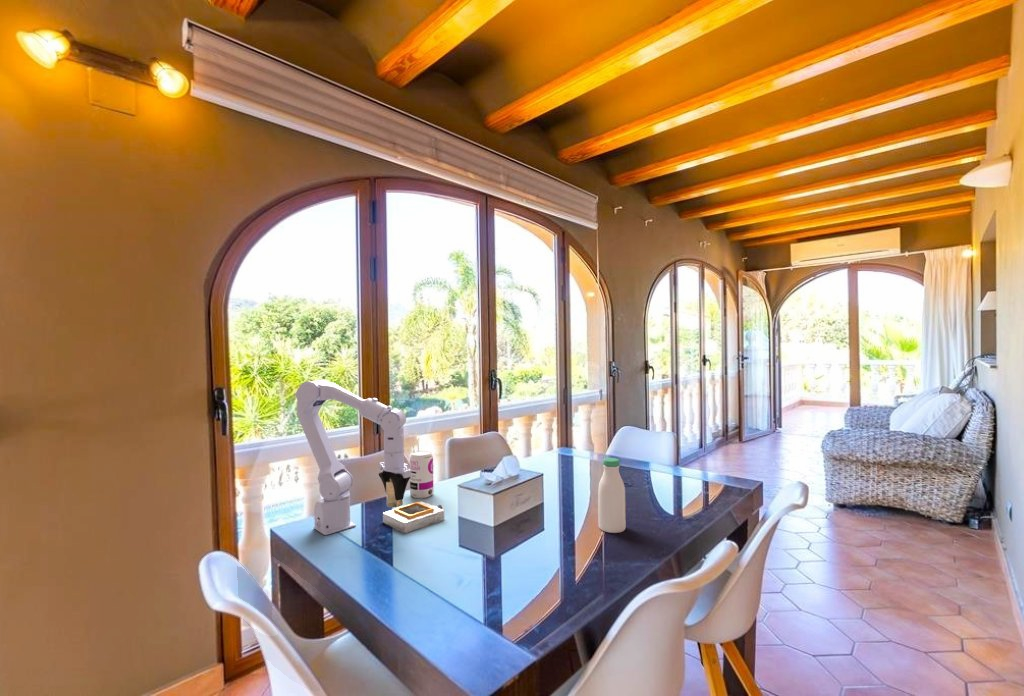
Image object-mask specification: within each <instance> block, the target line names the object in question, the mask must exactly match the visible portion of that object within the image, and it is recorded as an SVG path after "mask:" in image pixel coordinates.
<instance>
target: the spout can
mask: <svg viewBox="0 0 1024 696" xmlns="http://www.w3.org/2000/svg"><path fill="white" fill-rule="evenodd" d="M385 495H386V496H385V497H386V507H387V508H392V509H395V508H399V507H402V506H404V505H403V504H404V503H403V501H404V498H403V499H402V500H398V501H397V500H396V499H395V493H394V486H393V483H392V481H391V479H390V480H387V481H386V492H385Z"/></svg>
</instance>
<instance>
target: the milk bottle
mask: <svg viewBox="0 0 1024 696" xmlns="http://www.w3.org/2000/svg"><path fill="white" fill-rule="evenodd" d="M602 463H603V464H602V465H603V472H602V475H601V478H600V480H599V482H598V488H597V489H598V491H597V495H598V496H597V498H598V499H597V500H598V501H597V505H598V507H597V513H598V514H597V515H598V516H597V518H598V520H597V521H598V528H599V530H601V531H603V532H606V533H609V534H617V533H622V532H624V531H625V530H626V529H627V528H626V527H627V525H626V524H627V523H626V519H627V517H626V514H627V513H626V511H627V510H626V509H627V508H626V507H627V506H626V505H627V504H626V487H625V483H624V481H623V479H622V476H621V474H620V470H619V469H620V464H621V463H620V459H619V458H616V457H606V458H603V461H602Z"/></svg>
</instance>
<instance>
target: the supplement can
mask: <svg viewBox="0 0 1024 696" xmlns="http://www.w3.org/2000/svg"><path fill="white" fill-rule="evenodd" d="M409 470H411V478H410V479H409V494H410V496H411V497H412V498H415V499H426V498H430V497H431V496H432V495H433V494H434V491H435V490H434V456H433V454H432V452H431V451H428V450H419V451H413V452H411V454H410V456H409Z"/></svg>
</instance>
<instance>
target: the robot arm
mask: <svg viewBox="0 0 1024 696" xmlns="http://www.w3.org/2000/svg"><path fill="white" fill-rule="evenodd" d="M295 397H296V399H297V403H296V416H297V419H298V421H299V423H300V426H301V428H302V430H303V432H304V433H303V434H304V435H305V438H306V440H307V442H308V445H309V447H310V449H311V452H312V454H313V457H314V459H315V462H316V463H317V465H318V468H319V469H318V470H319V473H318V475H317V481H318V484H319V488H318V490H319V494H320V496H321V497H322V499H320V500H319V501H316V502H315V504H314V509H313V510H314V513H313V515H314V526H313V529H315V530H316V531H318V532H319V533H320V534H322V535H324V536H327V535H330V534H334V533H337V532H341V531H344V530H348V529H351V528H354V527H356V526H357V525H356V523H354V522H353V521H351V503H350V502H351V493H350V489H351V488H352V486H353V484H354V477H353V475H352V474H351V473H350V472H349V471H348V469H347V467H346V466H345V464H343V463H342V462H340V461H339V460H338V458H337V456H336V452H335V450H334V448H333V445H332V443H331V440H330V439H329V437H328V436H329V435H328V434H327V432H326V429H325V427H324V425H323V422H322V420H321V418H320V417H321V416H320V415H319V412H320V411H321V408H322V406H323V405H324V404H325V403H326V402H327V400H328V401H329V400H330V401H331V400H333V401H337V402H340V403H342V404H345V405H347V406H349V407H352V408H353V409H356V410H358V413H359V415H360V416H361V417H363V418H364V419H367V420H369V421H371V422H373V423H375V424H377V425H380V427H381V429H382V430H383V461H381V462H379V463H378V469H379V470H382V472H379V473H378V476H379V478H380V479H381V482H382V485H383V487H384V492H385V493H386V481H387V480H390V479H391V481H392V483H393V486H394V493H395V499H396V500H397V501H398V500H402V499H403V500H404V497H405V493H406V489H407V486H408V483H409V482H410V478H411V470H410V468H408V466H409V465H408V463H405V435H404V434H405V433H404V425H405V424H406V421H407V415H406V414H405V412H404V411H402V410H401V408H393V406H391V405H385V404H383V403H381V402H380V401H378V400H379V399H378V398H376V397H373V398H371V397H368V398H366V399H364V398H362V397H361V396H358V395H356V394H355V393H354V392H353V393H352V392H351V391H349V390H347V389H345V388H343V387H342V386H340V385H338V383H337V384H336V383H335V382H333V381H329V380H328V379H325V378H324V379H323V378H320V379H318V380H307V381H303V382H302V383H301V384H300V385H299V386H298V388H297V390H296V392H295Z"/></svg>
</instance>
